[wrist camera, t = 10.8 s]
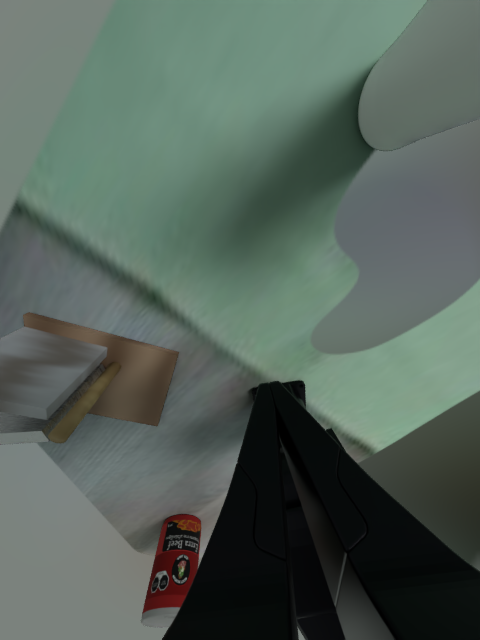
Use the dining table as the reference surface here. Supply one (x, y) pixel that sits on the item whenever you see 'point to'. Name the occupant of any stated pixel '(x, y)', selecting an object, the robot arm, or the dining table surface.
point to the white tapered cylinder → (425, 77)
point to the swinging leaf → (30, 430)
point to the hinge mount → (81, 374)
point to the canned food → (172, 569)
